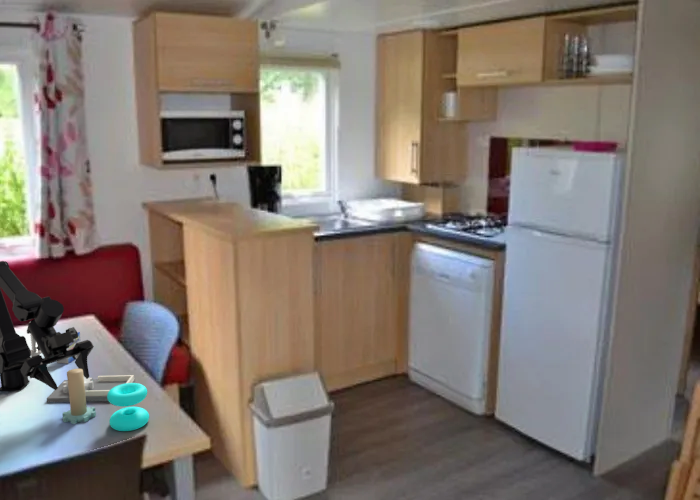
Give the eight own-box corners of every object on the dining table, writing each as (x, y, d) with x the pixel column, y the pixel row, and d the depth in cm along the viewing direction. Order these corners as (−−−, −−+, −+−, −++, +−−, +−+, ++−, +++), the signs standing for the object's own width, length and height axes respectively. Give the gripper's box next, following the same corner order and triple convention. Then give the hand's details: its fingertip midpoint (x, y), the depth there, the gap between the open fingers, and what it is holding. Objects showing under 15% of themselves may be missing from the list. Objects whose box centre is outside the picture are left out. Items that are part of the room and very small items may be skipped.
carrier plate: (47, 402, 187) (45, 389, 186) (64, 383, 200) (63, 371, 199) (122, 400, 188) (121, 387, 187) (135, 382, 200) (134, 370, 200)
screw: (24, 358, 221) (38, 354, 225) (32, 361, 218) (46, 357, 222) (20, 321, 218) (34, 317, 222) (28, 324, 215) (42, 320, 219)
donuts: (144, 378, 178) (149, 392, 169) (147, 412, 180) (151, 428, 171) (105, 384, 174) (108, 399, 165) (108, 419, 176) (111, 436, 167)
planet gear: (57, 424, 174) (52, 378, 171) (69, 409, 182) (65, 365, 179) (89, 423, 174) (85, 377, 171) (100, 409, 182) (96, 365, 180)
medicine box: (68, 364, 215) (65, 339, 214) (56, 363, 216) (53, 338, 214) (82, 355, 223) (80, 331, 221) (70, 354, 224) (68, 330, 222)
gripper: (21, 329, 170) (49, 379, 165) (86, 312, 184) (113, 357, 180) (9, 352, 176) (35, 401, 172) (73, 333, 190) (99, 378, 186)
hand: (72, 383), depth 177 cm, fingers open, 9 cm apart
